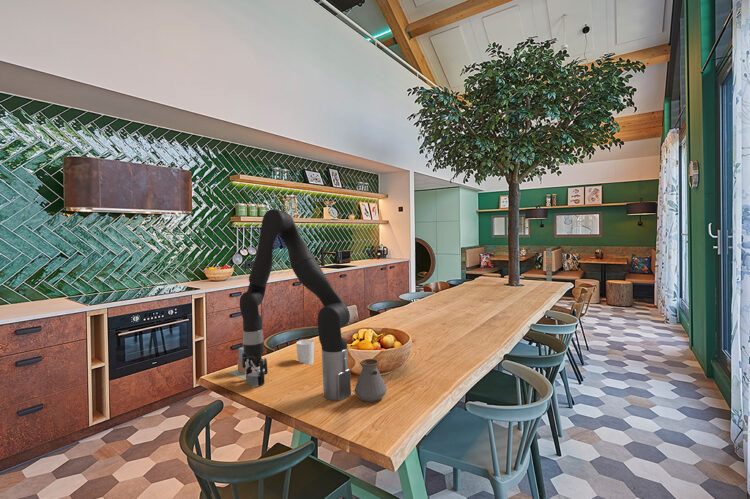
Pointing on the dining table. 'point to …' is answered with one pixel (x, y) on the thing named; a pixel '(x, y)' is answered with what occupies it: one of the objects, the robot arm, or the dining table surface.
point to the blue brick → (241, 353)
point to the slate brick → (252, 379)
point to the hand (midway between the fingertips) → (255, 381)
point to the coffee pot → (370, 382)
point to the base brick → (240, 368)
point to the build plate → (240, 375)
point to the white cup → (305, 351)
